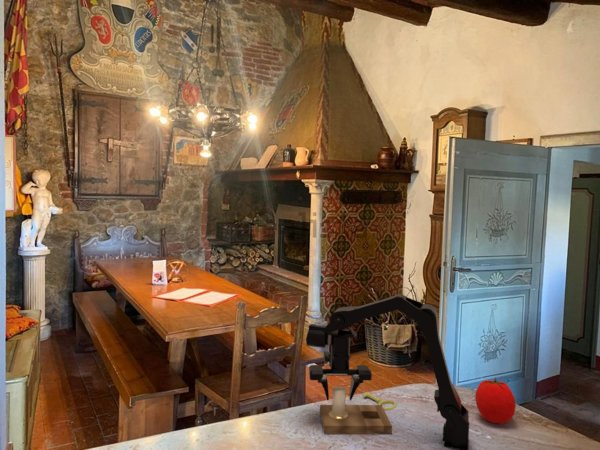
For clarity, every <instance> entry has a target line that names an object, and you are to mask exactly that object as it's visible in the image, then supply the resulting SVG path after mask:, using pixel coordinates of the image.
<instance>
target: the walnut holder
mask: <svg viewBox="0 0 600 450" xmlns="http://www.w3.org/2000/svg"><path fill="white" fill-rule="evenodd" d="M383 407H384V406H383V405H378V404H345V412H347V413H348V417H347V418H345V419H334V418H331V417H330V416H329V412H330V411H332V404H320V405H319V415H320V421H321V425H322V429H323V430H322V431H323V434H324V435H393V425H392V423H391V420H390V418H389V417H388V415H387V413H386V410H384V409H383Z"/></svg>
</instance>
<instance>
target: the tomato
mask: <svg viewBox="0 0 600 450" xmlns="http://www.w3.org/2000/svg"><path fill="white" fill-rule="evenodd" d="M510 388H511V387H509V385H508V383H506V382H503V381H497V377H494V379H493V380H492V379H488V380H487V379H486V380H483V381H481V382H480V383H479V384H478V386H477V388H476V391H475V394H474V396H475V398H474V399H475V403H476V407H477V410H478V412H479V414H480V415H481V416H482V418H483V419H484V420H486V421H487V422H490V423H493V424H497V425H498V424H500V425H502V424H507V423H508V422H510V421H511V420H512V418H513V417H514V416H515V412H516V405H517V404H516V398H515V395H514V393H513V392H512V390H511V389H510Z"/></svg>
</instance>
